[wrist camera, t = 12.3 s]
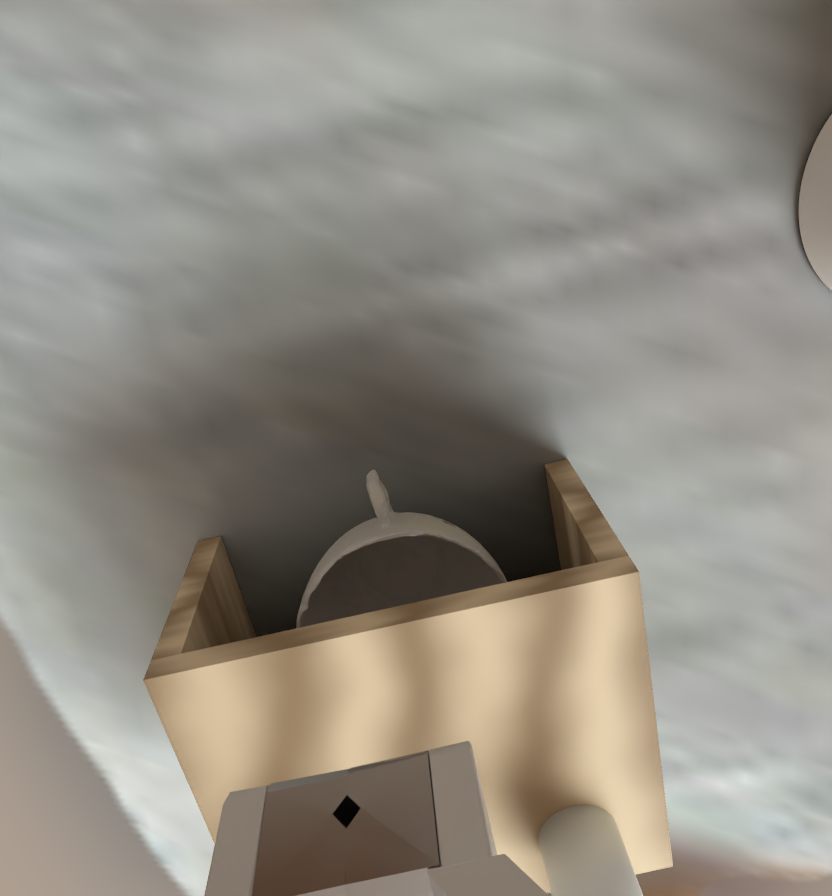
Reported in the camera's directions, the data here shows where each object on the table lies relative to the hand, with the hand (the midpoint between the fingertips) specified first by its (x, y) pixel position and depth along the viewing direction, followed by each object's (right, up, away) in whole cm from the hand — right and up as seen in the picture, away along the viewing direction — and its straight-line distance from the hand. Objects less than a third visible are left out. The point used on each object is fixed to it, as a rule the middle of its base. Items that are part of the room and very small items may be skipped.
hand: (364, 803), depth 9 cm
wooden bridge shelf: (+1, -8, +43) cm, 44 cm away
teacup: (-1, -2, +41) cm, 41 cm away
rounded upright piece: (+10, -17, +33) cm, 39 cm away
